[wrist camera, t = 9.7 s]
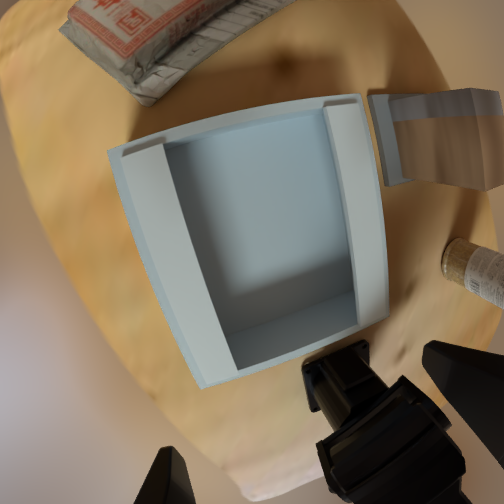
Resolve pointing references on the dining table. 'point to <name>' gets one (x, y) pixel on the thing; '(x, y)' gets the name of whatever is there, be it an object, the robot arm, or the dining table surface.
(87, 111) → the dining table surface
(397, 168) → the coaster
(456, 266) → the sprinkles bottle
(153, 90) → the packaged product
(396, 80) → the dining table surface
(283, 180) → the grey open tray
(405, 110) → the block
